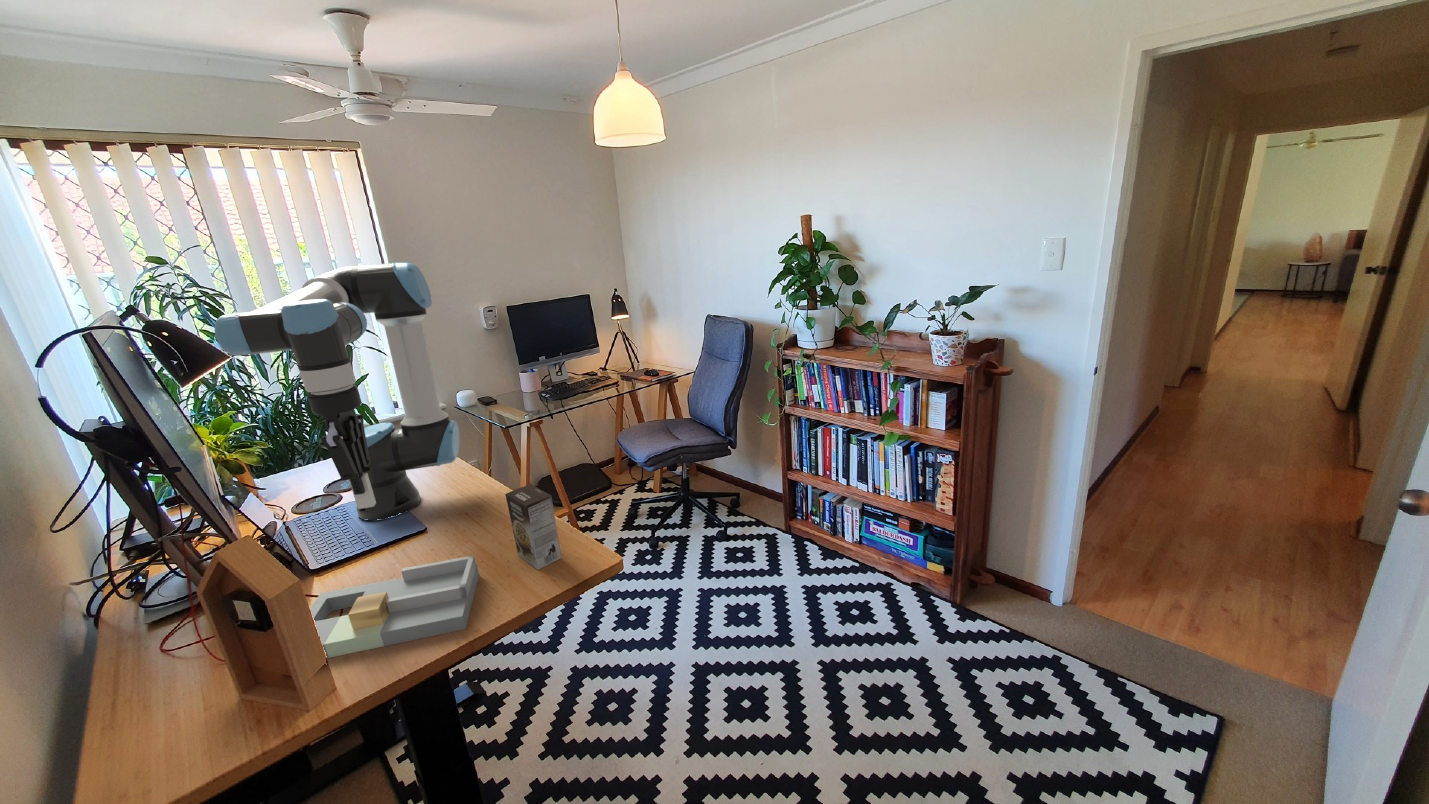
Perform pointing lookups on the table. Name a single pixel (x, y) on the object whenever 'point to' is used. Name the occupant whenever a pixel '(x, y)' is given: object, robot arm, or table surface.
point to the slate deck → (402, 607)
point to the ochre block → (369, 611)
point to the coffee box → (534, 525)
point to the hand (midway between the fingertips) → (367, 505)
